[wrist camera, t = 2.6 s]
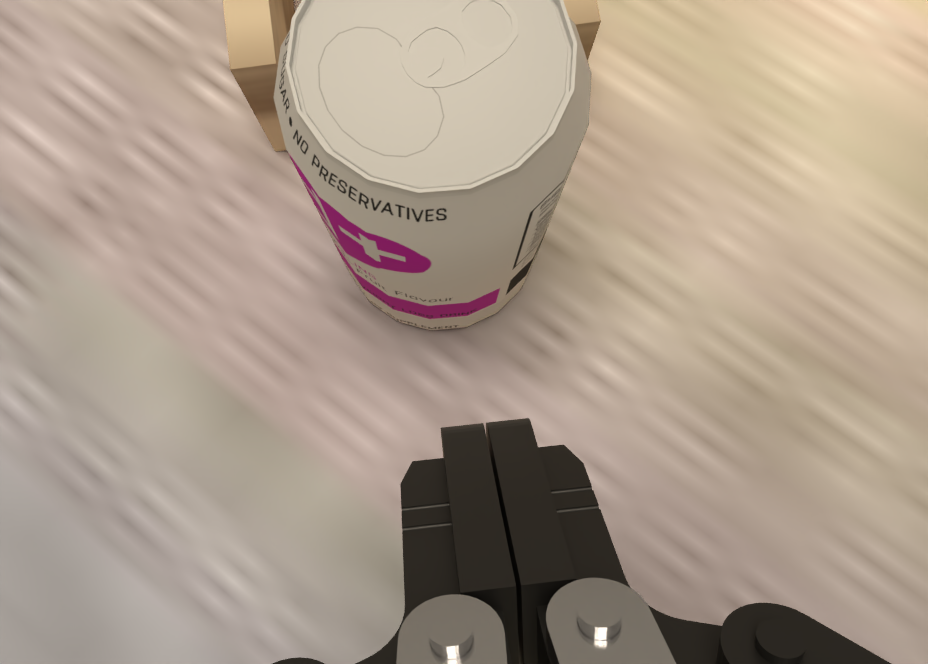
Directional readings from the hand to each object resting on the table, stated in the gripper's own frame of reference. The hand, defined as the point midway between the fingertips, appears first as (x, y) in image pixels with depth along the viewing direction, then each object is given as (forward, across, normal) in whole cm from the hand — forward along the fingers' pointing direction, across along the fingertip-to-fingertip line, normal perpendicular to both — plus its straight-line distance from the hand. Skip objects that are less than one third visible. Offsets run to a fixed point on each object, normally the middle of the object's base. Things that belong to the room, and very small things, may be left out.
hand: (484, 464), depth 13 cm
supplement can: (+21, 0, +4) cm, 21 cm away
